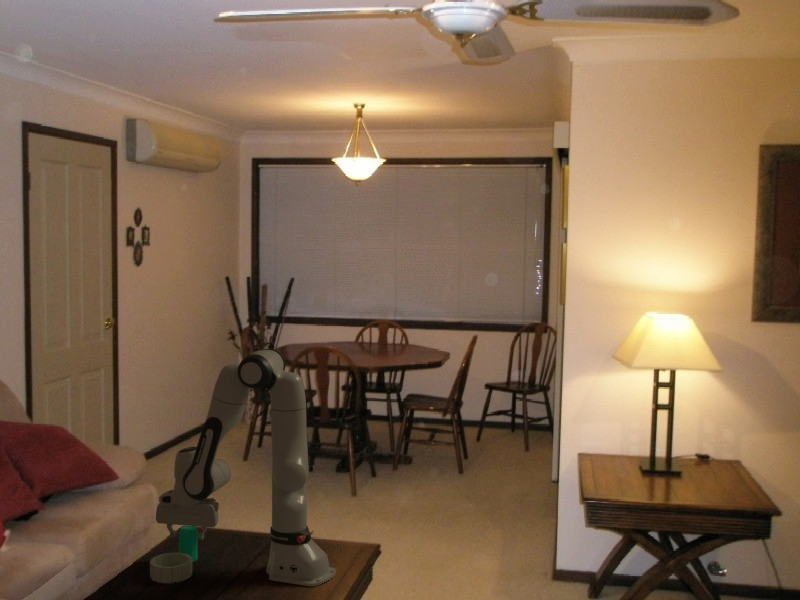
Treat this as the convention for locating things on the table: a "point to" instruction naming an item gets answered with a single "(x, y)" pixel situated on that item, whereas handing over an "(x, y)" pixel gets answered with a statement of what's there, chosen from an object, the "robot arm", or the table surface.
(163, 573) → the dish
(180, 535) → the candle
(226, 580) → the table surface
